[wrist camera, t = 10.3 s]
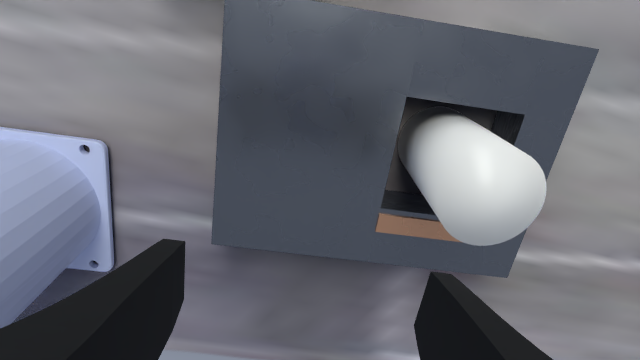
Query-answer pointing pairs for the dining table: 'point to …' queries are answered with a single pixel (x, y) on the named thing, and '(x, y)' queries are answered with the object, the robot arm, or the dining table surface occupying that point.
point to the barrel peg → (471, 176)
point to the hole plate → (367, 126)
